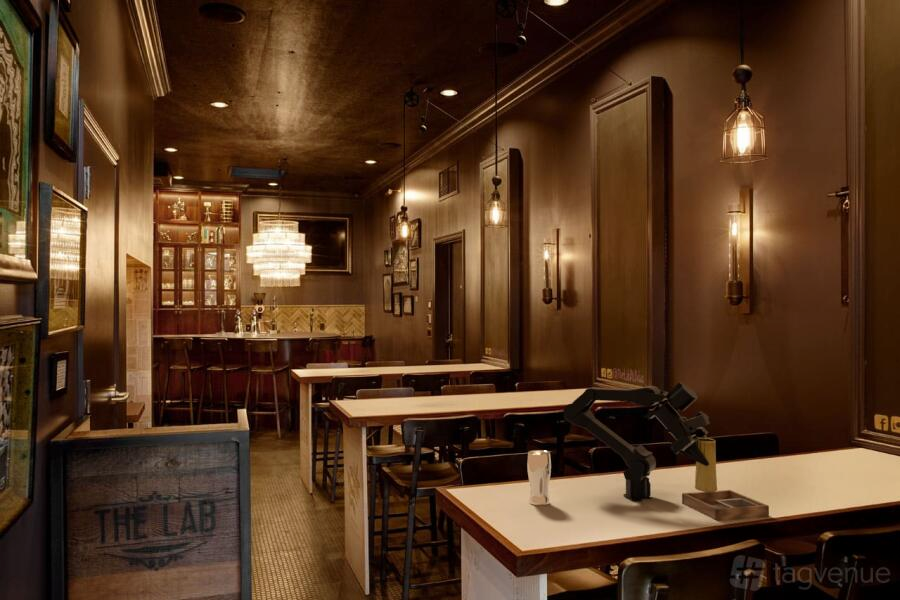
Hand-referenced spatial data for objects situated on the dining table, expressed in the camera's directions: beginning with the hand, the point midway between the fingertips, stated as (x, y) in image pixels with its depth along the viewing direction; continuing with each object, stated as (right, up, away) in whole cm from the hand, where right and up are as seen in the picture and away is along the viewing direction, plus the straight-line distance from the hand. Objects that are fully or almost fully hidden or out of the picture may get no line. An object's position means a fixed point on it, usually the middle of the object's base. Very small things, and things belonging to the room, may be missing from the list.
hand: (710, 463), depth 194 cm
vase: (-1, -8, +1) cm, 8 cm away
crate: (+3, -13, -2) cm, 14 cm away
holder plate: (+6, -13, -4) cm, 15 cm away
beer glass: (-48, -14, +7) cm, 51 cm away
